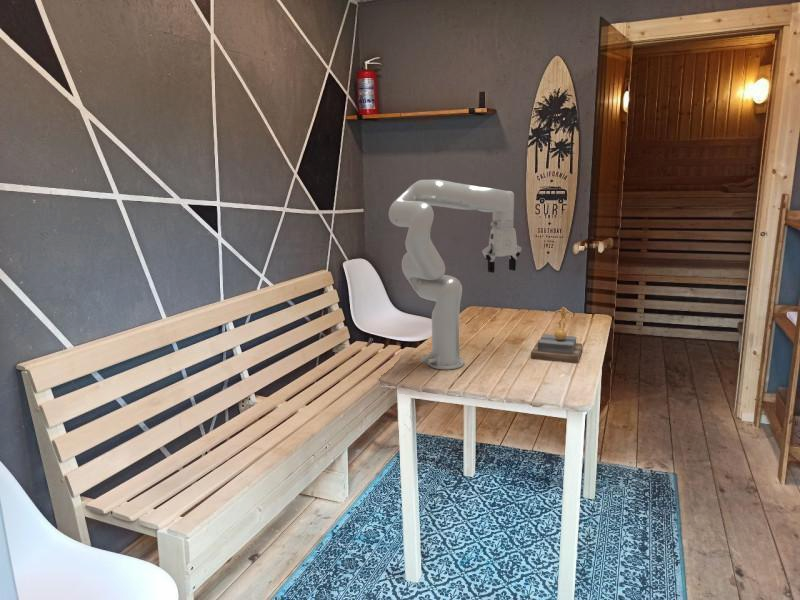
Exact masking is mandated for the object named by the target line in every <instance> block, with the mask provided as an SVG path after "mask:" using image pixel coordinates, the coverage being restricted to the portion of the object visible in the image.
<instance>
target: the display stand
mask: <svg viewBox="0 0 800 600" xmlns="http://www.w3.org/2000/svg"><path fill="white" fill-rule="evenodd" d="M582 351H583V343H578V342H577V336H572V335H571V336H569V335H566V338H565V339H564V340H557V339H556V337H555V334H547V333H546V334H545V333H542V336H541V337H540V339H538V340H537V341H536V343H535V345H534V347H533V349H531V351H530V359H531V360H542V361H552V362H560V361H561V362H563V363H572V364H578V363H579V360H580V357H581V353H582Z"/></svg>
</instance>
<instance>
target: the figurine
mask: <svg viewBox="0 0 800 600" xmlns="http://www.w3.org/2000/svg"><path fill="white" fill-rule="evenodd" d="M556 313H560V316H559V317H558V322H557V323H558V326H559V327H558V329H557V330H555V333H554V335H555V337H556V339H557V340H564V339H565V338H566V336H567V332H566V331H565V326H566V323H567V319H568V318H567V316H566V315H567V314H570V315H571V318H572V319H571V320H572V322H573V323H574V322H575V318H574V315H573V312H571V311H569V310H568V309H567V308H566V307H564V306H562V308H561V309H559V310H555V311H554V313H553V314H552V315H551V319H550V320H552V319H553V318H554V317H555V315H556ZM561 322H563V323H562V324H561ZM562 325H563V326H562ZM561 327H562V329H561Z"/></svg>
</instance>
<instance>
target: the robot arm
mask: <svg viewBox="0 0 800 600" xmlns="http://www.w3.org/2000/svg"><path fill="white" fill-rule="evenodd" d="M432 206H433V207H442V208H447V209H456V210H465V211H479V212H482V213H483V212H485V213H492V221H491V222H490V227H492V228H491V230H490V234H489V239H488V246H486V247H484V249H482V250H481V253H482V254H483V257H484V258H485V260H486V261H487V272H488V273H495V269H496V268H495V265H496V264H495V260H496V257H499V258H500V257H509V259H508V269H509V271H516V270H517V269H516V267H517V260H518V258H519V257H520V254H521V251H522V249H523V248H522V247H521V246H520V245H518V239H517V233H516V228H514V215H515V214H514V213H515V212H514V211H515V210H514V209H515V193H514V192H513V191H511V190H503V189H498V188H493V187H492V188H491V187H486V186H485V187H484V186H478V185H474V184H473V185H471V184H465V183H458V182H455V181H454V182H453V181H449V180H442V179H420V180H417V181H415V182H414V183H413V184H411V185H410V186H409V187H408V188H407V189H406V190H405V191H403V192H402V193H401V194H400V195H399V196H398V197H397V198H396V199H395V200H394V201H393V202H392V203H391V205H390V207H389V209H388V219H389V221H390V223H391V224H393V225H394V226H396V227H399V228H400V227H401V228H408V230H407V234H406V238H405V243H404V246H405V249H406V252H405V254H404V255H403V257H402V259H401V271H402V272H403V275H404V277H405V278H406V280H407V281H408V283H409V284H410V286H411V287H412V289H413V291H415V293H416V294H417V295H418V296H419V297H420V298H421V299H424V300H427V301H433V302H435V305H434V308H433V310H432V313H431V351H429V354H427V356H422V357H419V360H420V363H423V364H424V363H427V365H428V366H429V367H430V368H433V369H435V370H446V371H447V370H448V371H449V370H455V369H459V368H461V367H463V366H464V365H465V361H464V359H463V358H461V357H460V307H461V301H462V295H463V285H462V283H461V281H460V280H459V279H458V278H456V277H455V276H452V275H448V274H445V273H446V265H445V262H444V260H443V259H442V257H441V255H440V253H439V252H438V250H437V249H436V246H435V245H434V243H433V241H432V239H431V229H432V226H433V225H432V224H433V223H434V215H435V214H434V210H433V207H432Z"/></svg>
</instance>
